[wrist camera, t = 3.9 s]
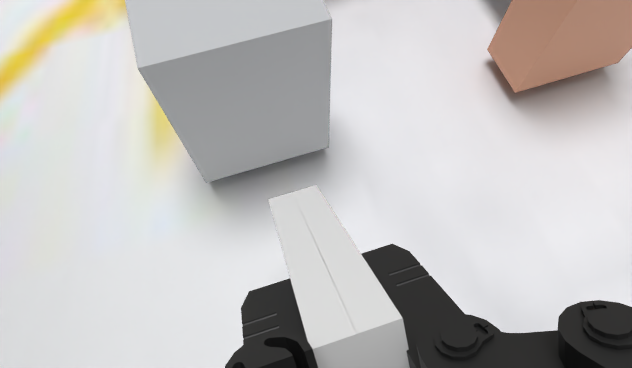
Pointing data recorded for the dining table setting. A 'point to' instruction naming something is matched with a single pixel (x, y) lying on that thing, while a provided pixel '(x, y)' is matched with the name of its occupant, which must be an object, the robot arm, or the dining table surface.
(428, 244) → the dining table surface
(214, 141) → the grey plunger
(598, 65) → the peach rectangular block
